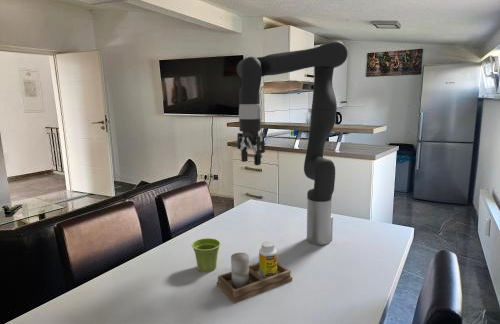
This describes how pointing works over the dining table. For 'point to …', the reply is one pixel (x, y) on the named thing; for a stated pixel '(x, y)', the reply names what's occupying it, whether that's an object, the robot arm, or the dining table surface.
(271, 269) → the supplement bottle
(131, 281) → the dining table surface
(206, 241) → the plant pot
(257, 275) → the caddy
